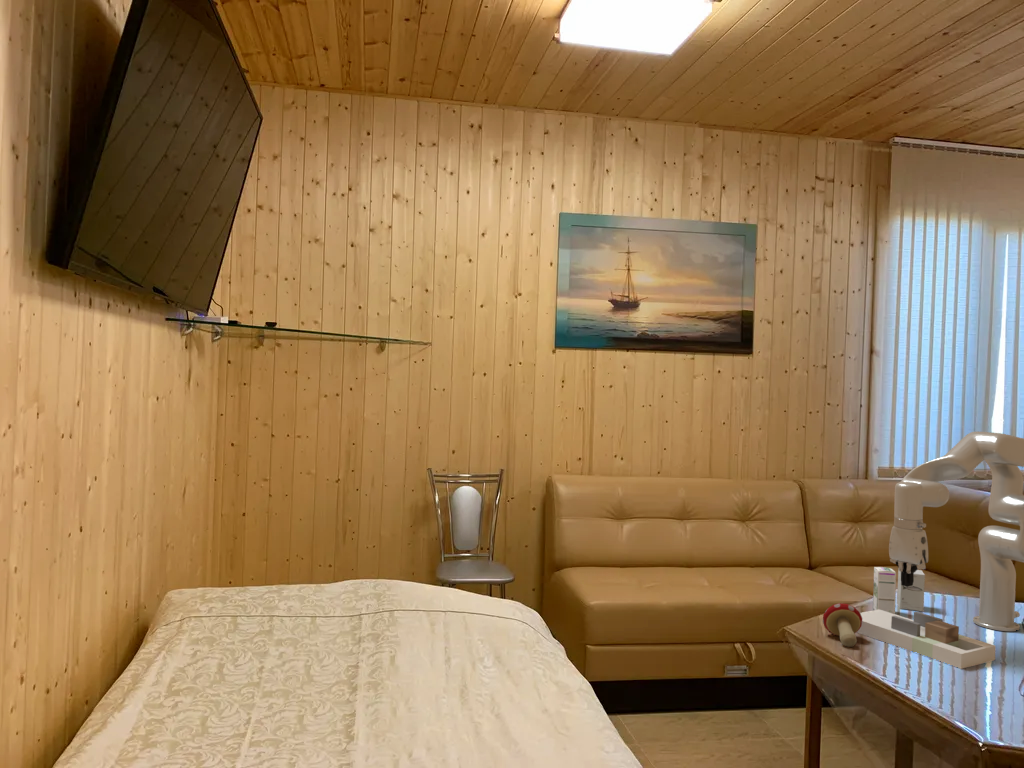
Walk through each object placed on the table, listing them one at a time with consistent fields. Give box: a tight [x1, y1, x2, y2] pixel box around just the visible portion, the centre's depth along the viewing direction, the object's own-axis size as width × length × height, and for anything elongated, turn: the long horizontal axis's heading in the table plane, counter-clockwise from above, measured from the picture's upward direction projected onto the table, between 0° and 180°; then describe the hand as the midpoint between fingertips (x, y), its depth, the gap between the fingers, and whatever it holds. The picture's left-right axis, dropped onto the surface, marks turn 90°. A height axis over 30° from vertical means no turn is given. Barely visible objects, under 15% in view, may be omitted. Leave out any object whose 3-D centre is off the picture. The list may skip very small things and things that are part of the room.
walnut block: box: [925, 620, 960, 644], centre depth 219 cm, size 6×6×4 cm
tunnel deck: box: [856, 609, 997, 670], centre depth 226 cm, size 16×36×8 cm, turn 29°
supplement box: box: [896, 567, 926, 613], centre depth 263 cm, size 7×7×13 cm
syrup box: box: [872, 566, 897, 615], centre depth 257 cm, size 6×6×14 cm
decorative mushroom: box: [822, 602, 862, 648], centre depth 227 cm, size 11×11×15 cm
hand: (907, 585), depth 230 cm, fingers closed
